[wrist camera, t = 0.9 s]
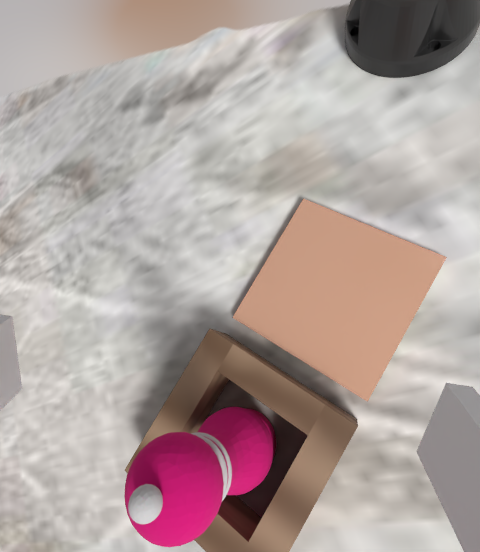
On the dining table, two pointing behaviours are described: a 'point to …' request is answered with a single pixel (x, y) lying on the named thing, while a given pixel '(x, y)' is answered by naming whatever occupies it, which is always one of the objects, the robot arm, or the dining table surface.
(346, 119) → the dining table surface
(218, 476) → the pepper mill
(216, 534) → the walnut holder
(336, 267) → the terracotta tile
